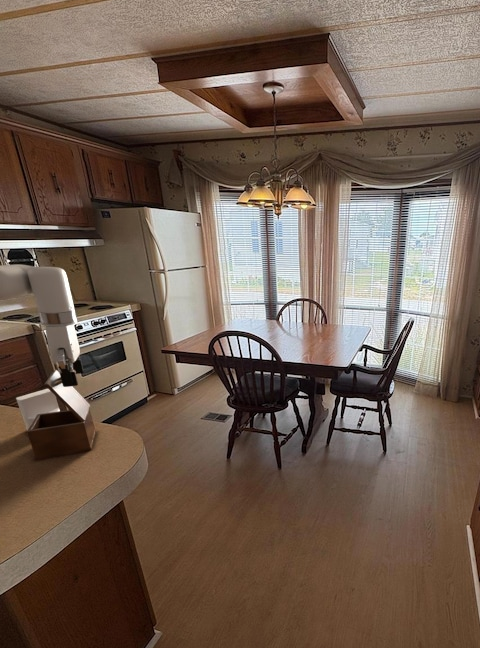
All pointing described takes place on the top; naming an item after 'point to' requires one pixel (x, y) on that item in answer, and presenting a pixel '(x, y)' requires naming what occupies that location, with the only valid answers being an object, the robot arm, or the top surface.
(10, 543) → the top surface
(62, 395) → the compartment lid
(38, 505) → the top surface
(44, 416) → the compartment
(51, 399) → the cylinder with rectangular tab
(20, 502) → the top surface
